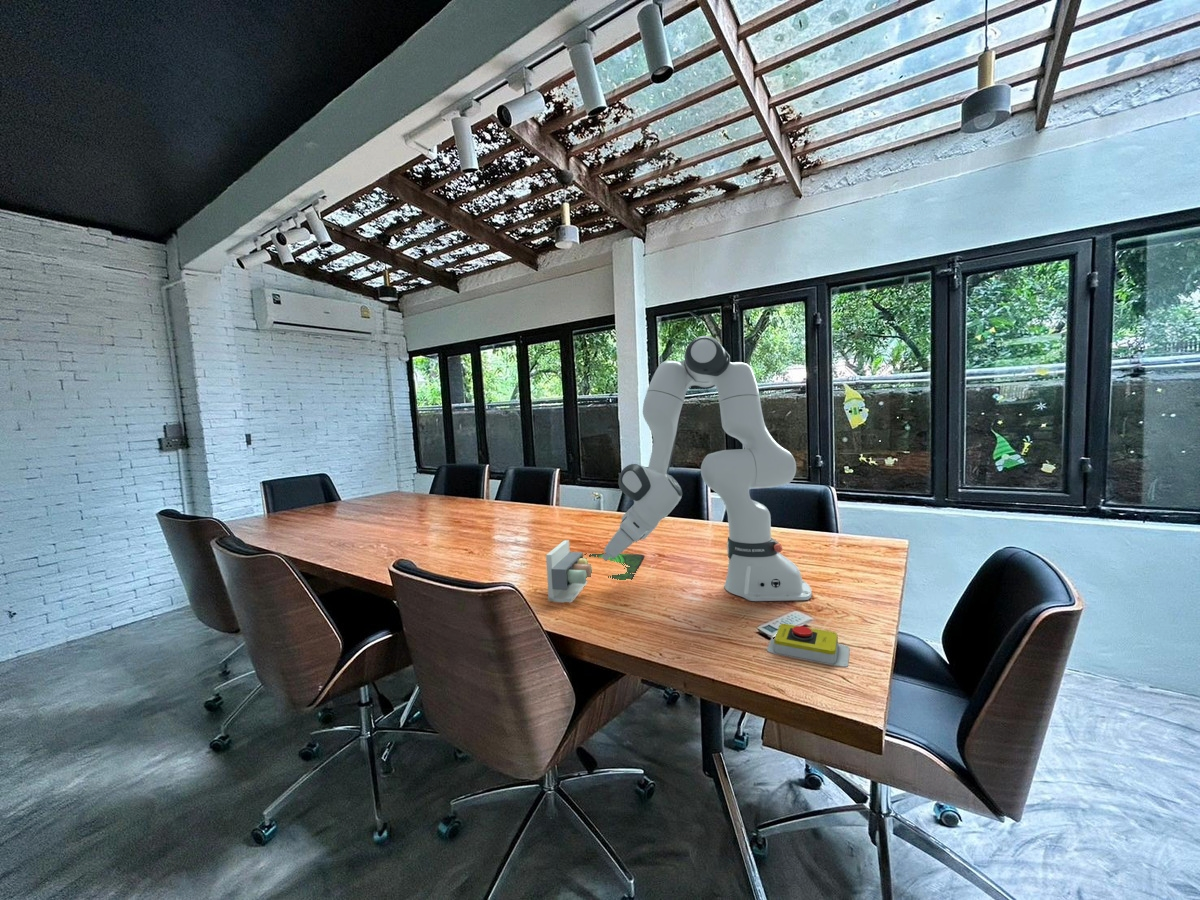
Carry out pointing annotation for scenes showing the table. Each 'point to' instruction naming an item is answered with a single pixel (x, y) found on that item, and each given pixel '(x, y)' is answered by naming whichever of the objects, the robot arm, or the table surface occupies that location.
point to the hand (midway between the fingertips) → (604, 557)
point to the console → (562, 573)
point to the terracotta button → (583, 568)
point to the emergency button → (809, 645)
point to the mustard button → (582, 561)
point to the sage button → (576, 576)
